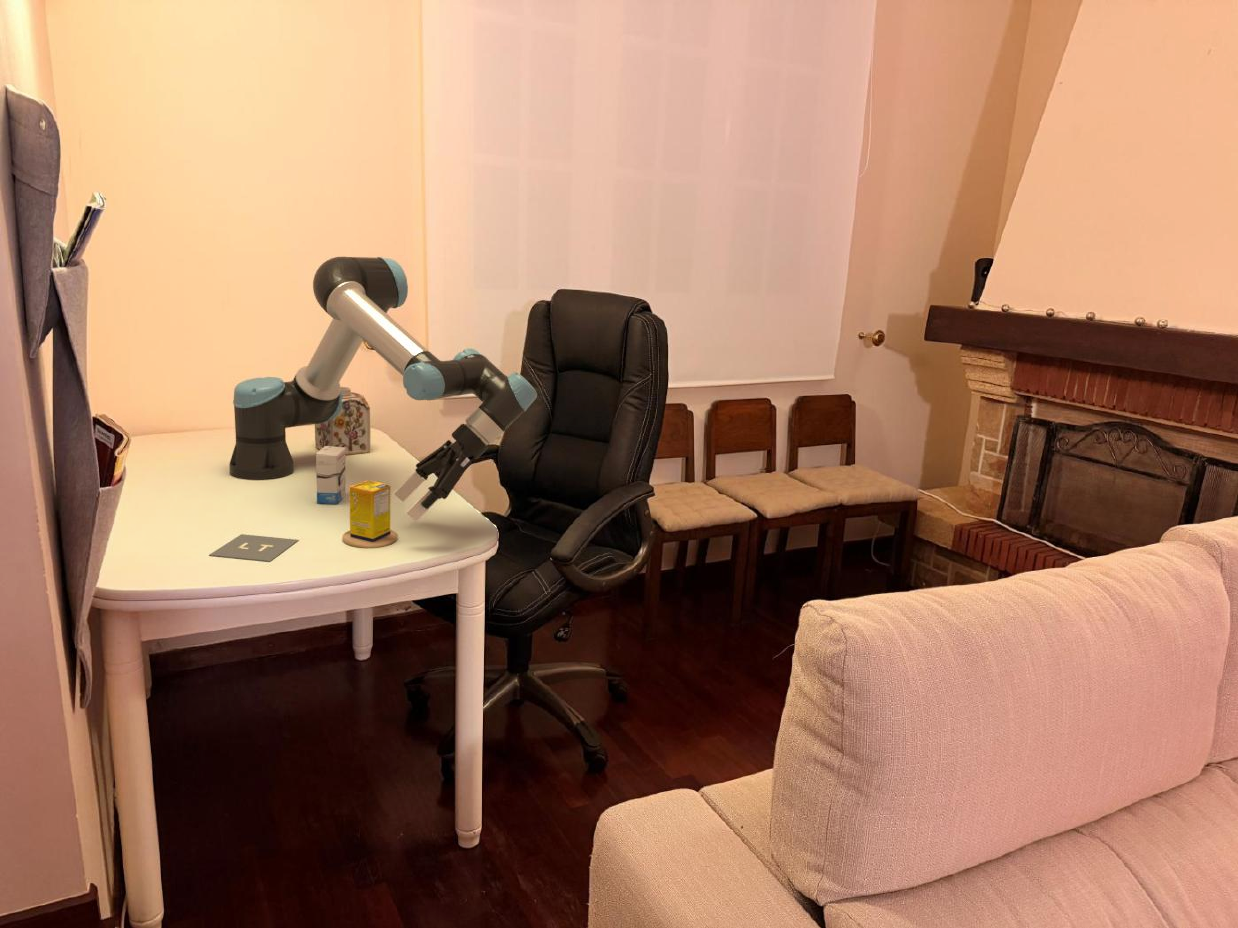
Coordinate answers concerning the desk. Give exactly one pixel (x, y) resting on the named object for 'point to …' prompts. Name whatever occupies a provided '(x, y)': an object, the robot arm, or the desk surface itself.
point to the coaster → (367, 544)
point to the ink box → (330, 475)
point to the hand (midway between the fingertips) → (404, 507)
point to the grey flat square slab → (254, 548)
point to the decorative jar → (347, 426)
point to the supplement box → (369, 510)
